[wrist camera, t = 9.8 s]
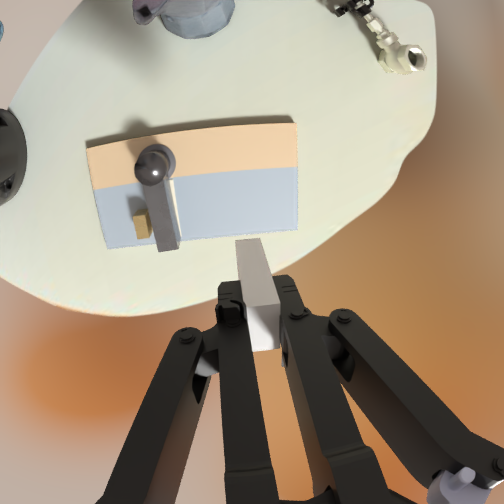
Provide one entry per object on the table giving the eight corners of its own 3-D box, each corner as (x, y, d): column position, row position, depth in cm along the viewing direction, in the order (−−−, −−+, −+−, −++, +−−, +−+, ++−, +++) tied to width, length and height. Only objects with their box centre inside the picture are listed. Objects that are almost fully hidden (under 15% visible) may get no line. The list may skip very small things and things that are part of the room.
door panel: (110, 245, 39) (107, 249, 37) (89, 147, 32) (85, 149, 31) (295, 226, 40) (297, 230, 39) (294, 122, 34) (296, 123, 33)
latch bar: (139, 152, 32) (131, 157, 29) (167, 146, 32) (162, 150, 29) (158, 241, 38) (153, 253, 34) (185, 237, 38) (182, 249, 35)
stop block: (141, 231, 37) (137, 239, 35) (137, 209, 36) (132, 216, 33) (153, 229, 37) (149, 238, 35) (149, 208, 36) (144, 214, 33)
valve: (410, 62, 31) (357, -4, 26) (439, 59, 25) (380, -18, 20) (383, 85, 32) (325, 17, 28) (410, 84, 26) (345, 3, 22)
